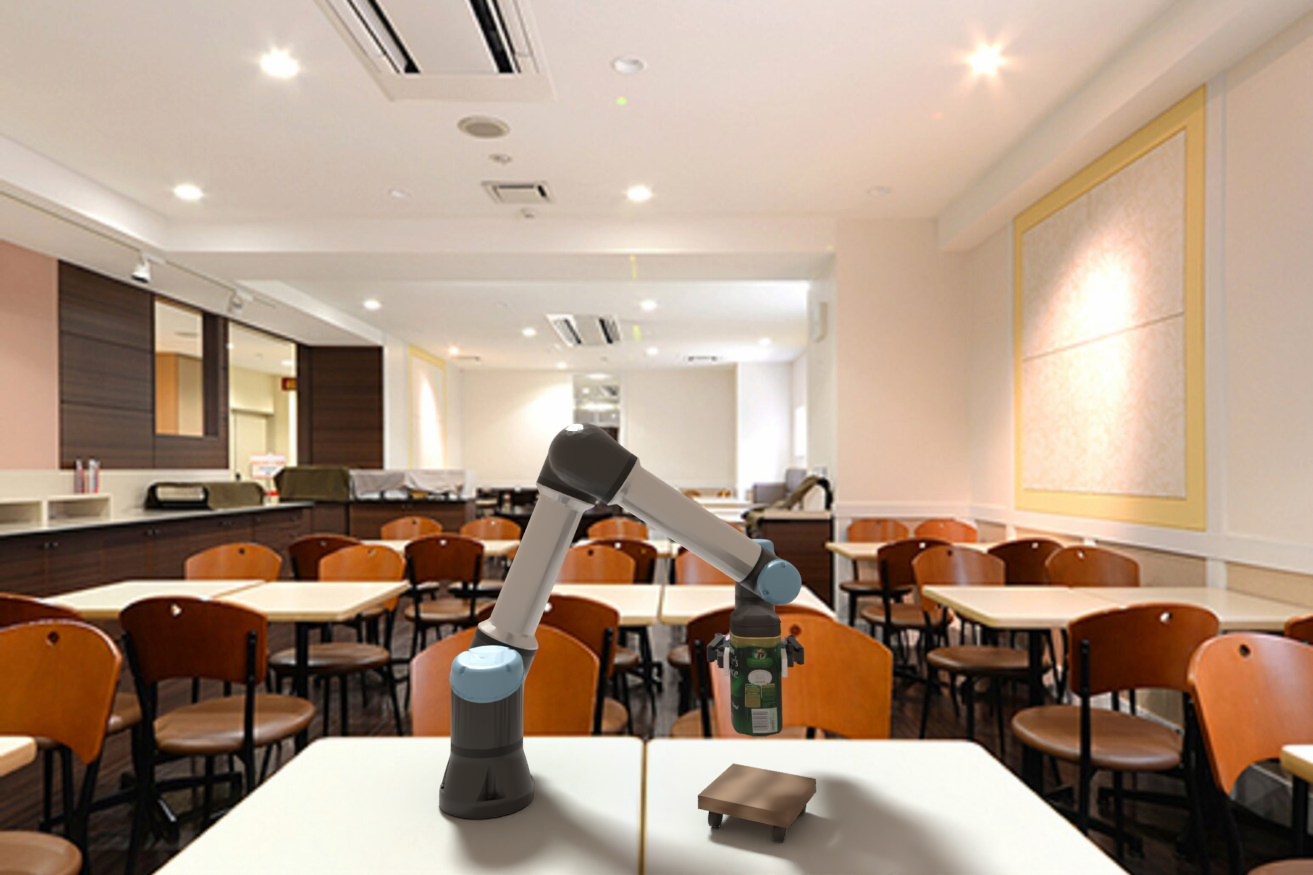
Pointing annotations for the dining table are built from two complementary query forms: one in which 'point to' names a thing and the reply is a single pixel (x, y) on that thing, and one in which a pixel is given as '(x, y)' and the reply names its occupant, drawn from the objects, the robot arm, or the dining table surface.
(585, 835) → the dining table surface
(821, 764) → the dining table surface
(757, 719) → the coffee jar
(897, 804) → the dining table surface
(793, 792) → the caster dolly
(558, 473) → the robot arm
